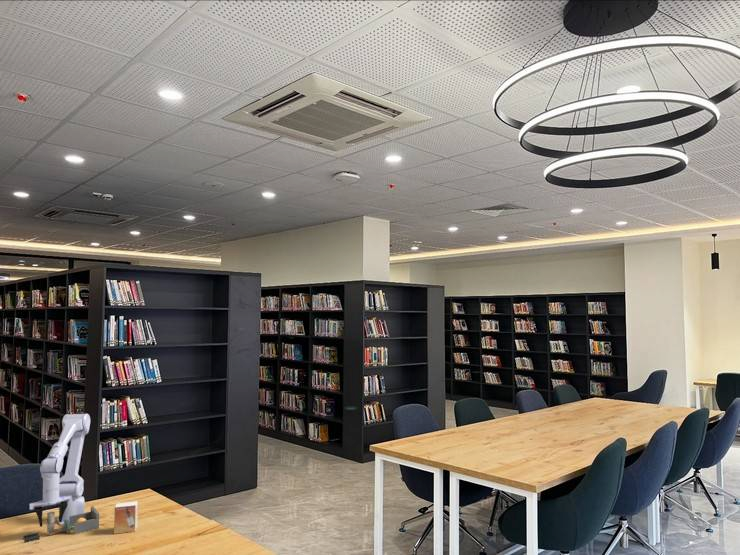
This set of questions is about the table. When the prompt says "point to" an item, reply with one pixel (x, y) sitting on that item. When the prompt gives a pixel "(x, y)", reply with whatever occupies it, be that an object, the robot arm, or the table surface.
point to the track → (31, 537)
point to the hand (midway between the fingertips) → (50, 523)
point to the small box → (125, 517)
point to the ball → (81, 520)
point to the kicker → (51, 525)
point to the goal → (89, 524)
